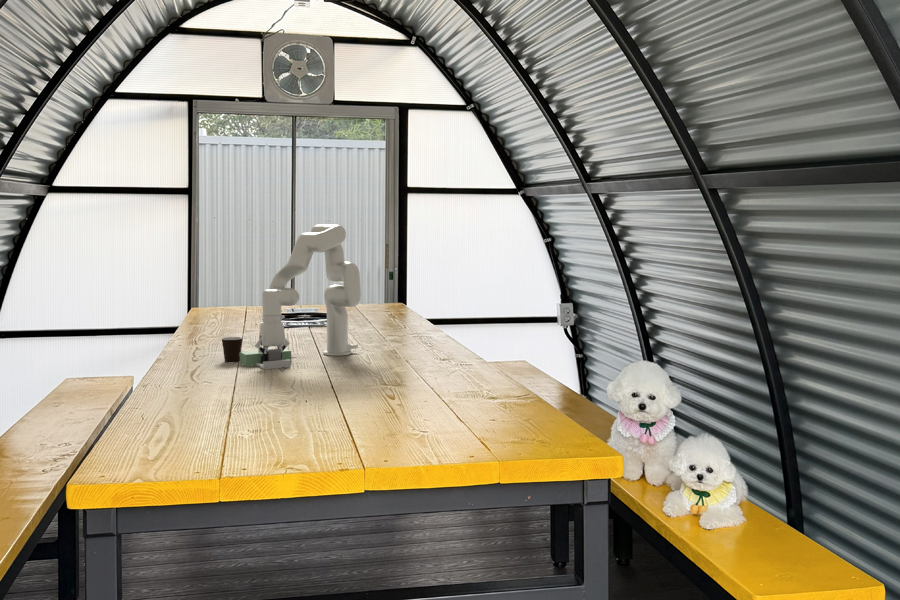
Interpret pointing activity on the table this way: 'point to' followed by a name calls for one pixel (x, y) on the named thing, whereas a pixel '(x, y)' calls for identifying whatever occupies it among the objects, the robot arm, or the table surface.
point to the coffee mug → (232, 348)
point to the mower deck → (257, 359)
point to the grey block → (274, 354)
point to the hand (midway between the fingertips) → (272, 361)
